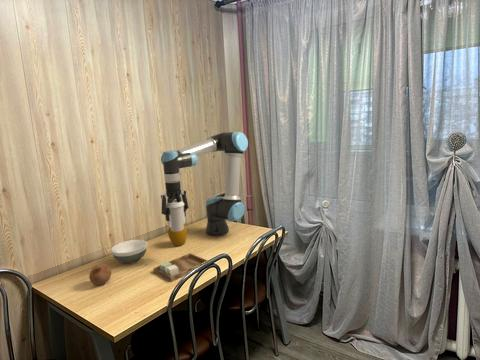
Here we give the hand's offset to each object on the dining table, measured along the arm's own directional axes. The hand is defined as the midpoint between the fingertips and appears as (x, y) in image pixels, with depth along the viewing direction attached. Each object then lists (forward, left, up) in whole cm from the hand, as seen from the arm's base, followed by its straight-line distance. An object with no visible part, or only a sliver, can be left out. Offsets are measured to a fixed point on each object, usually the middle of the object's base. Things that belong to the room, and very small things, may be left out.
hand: (176, 224), depth 162 cm
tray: (+6, +9, -20) cm, 23 cm away
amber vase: (-12, -20, -20) cm, 30 cm away
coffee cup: (0, 0, -3) cm, 3 cm away
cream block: (+13, +12, -19) cm, 26 cm away
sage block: (+13, +6, -19) cm, 24 cm away
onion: (+38, -10, -20) cm, 44 cm away
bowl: (+17, -23, -20) cm, 34 cm away
